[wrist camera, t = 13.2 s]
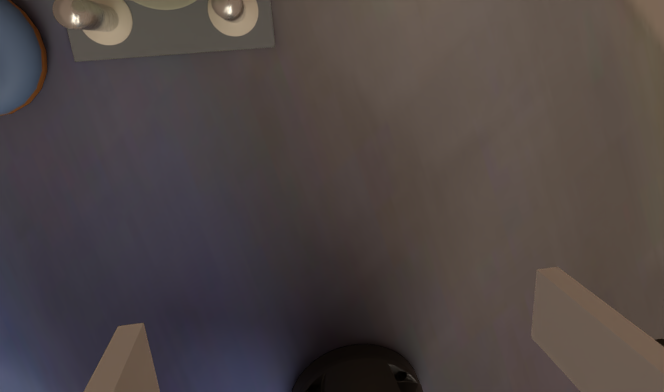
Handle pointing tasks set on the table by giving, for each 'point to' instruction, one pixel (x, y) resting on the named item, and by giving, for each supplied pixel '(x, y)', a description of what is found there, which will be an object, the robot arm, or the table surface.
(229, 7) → the pins
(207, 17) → the board
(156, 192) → the table surface
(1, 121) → the table surface
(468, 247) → the table surface
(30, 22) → the doughnut
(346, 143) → the table surface
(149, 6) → the can
